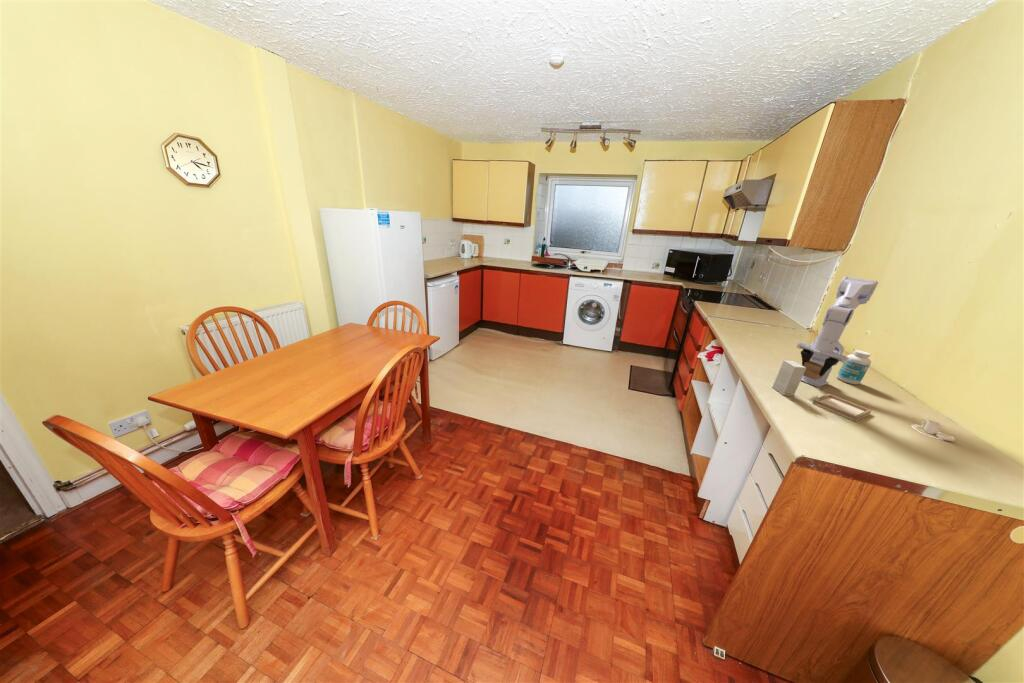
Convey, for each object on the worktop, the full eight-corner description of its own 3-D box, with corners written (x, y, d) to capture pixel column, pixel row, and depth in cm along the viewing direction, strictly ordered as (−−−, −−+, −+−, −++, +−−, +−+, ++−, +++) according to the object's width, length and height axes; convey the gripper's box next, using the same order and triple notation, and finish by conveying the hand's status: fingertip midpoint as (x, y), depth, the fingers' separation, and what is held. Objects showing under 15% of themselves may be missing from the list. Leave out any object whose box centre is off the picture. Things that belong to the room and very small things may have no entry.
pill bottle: (832, 378, 141) (846, 349, 136) (841, 375, 143) (855, 347, 138) (854, 386, 134) (870, 356, 129) (863, 383, 137) (878, 354, 132)
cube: (805, 371, 127) (810, 360, 126) (821, 377, 123) (827, 365, 122) (799, 374, 125) (804, 362, 123) (815, 379, 121) (820, 367, 119)
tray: (827, 396, 124) (828, 393, 123) (869, 413, 114) (871, 410, 114) (812, 403, 118) (814, 399, 118) (855, 421, 109) (857, 417, 108)
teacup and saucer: (958, 445, 101) (966, 434, 99) (927, 439, 102) (934, 429, 101) (932, 428, 109) (939, 418, 107) (903, 423, 110) (909, 413, 109)
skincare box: (794, 396, 122) (807, 367, 118) (782, 395, 122) (795, 367, 118) (782, 388, 128) (794, 360, 123) (771, 387, 128) (782, 359, 123)
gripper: (799, 333, 123) (785, 365, 128) (848, 347, 111) (831, 382, 116) (807, 331, 126) (794, 362, 131) (857, 345, 114) (840, 379, 119)
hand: (812, 372), depth 124 cm, fingers closed on cube, 5 cm apart
